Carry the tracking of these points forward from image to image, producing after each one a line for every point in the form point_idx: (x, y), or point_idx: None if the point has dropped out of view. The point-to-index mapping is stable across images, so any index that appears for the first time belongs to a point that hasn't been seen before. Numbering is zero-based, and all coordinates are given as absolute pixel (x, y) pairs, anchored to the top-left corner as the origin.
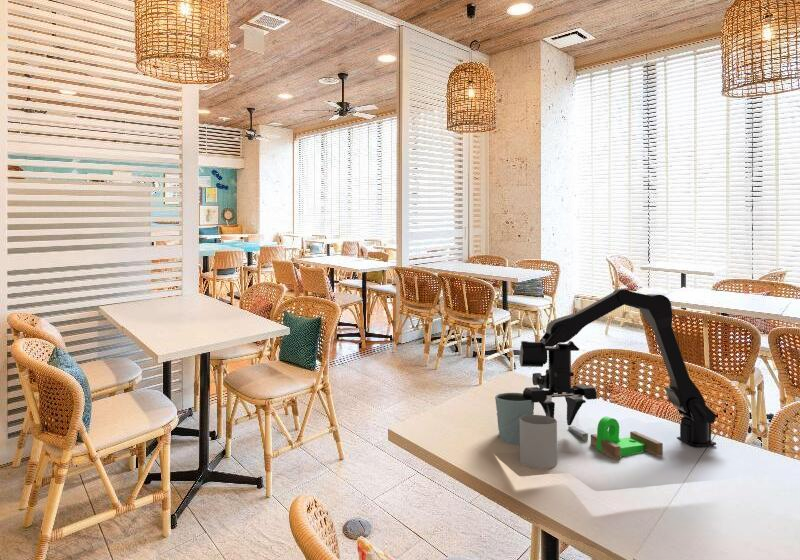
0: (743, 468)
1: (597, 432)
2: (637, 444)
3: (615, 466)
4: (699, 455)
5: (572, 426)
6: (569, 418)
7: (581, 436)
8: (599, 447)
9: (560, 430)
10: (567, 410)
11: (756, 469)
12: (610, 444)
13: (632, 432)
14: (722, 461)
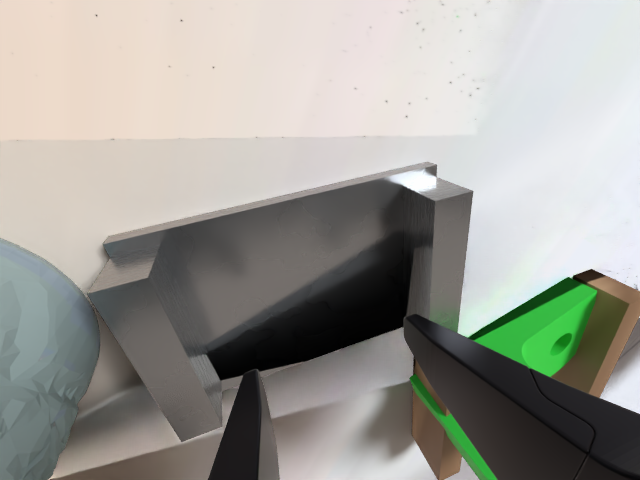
0: (617, 401)
1: (462, 448)
2: (548, 372)
3: (381, 476)
4: (628, 349)
5: (460, 203)
6: (440, 384)
7: None
8: (419, 395)
9: (405, 28)
10: (506, 408)
11: (630, 400)
12: (441, 466)
13: (625, 313)
14: (626, 375)
